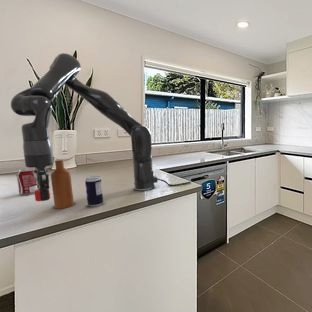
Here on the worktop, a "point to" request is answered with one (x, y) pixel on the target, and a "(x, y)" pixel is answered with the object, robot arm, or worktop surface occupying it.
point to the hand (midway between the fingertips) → (44, 198)
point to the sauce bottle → (61, 186)
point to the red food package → (26, 182)
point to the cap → (37, 195)
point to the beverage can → (94, 190)
